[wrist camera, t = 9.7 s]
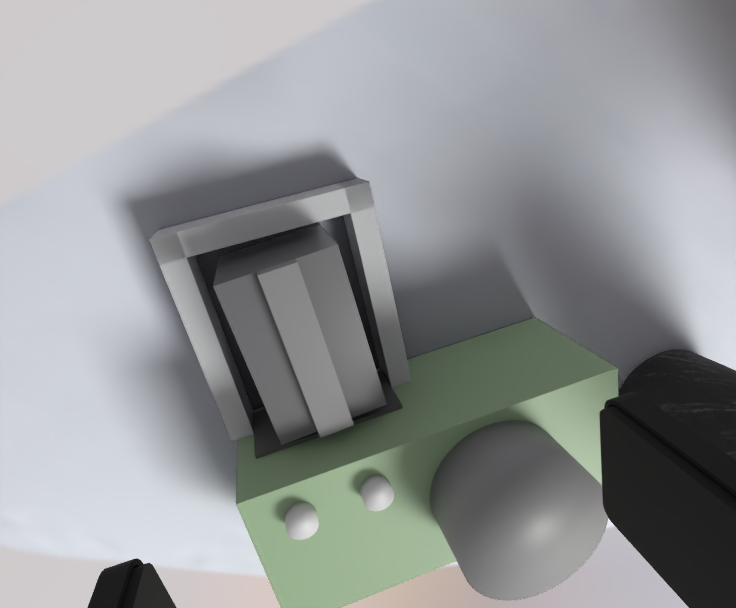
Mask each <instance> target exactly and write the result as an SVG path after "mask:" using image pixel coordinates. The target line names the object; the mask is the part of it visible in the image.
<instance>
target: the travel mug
mask: <svg viewBox="0 0 736 608" xmlns="http://www.w3.org/2000/svg"><path fill="white" fill-rule="evenodd" d="M630 392H636V393H638V394H640V395H642V396H643V397H645V398H646V399H647V400H649V401H650V402H652V403H653V404H655V405H656V406H658V407H659V408H661V409H662V410H664V411H665V412H666V413H668V414H669V415H671V416H672V417H674V418H675V419H677V420H678V421H680V422H681V423H683V424H684V425H685V426H687V427H688V428H690V429H691V430H693V431H694V432H696V433H697V434H699V435H700V436H702V437H703V438H704V439H706V440H707V441H709V442H710V443H712V444H713V445H715V446H716V447H718V448H719V449H721V450H722V451H723V452H725V453H726V454H728V455H729V456H731V457H732V458H734V459H735V460H736V371H735V370H733V369H731V368H728V367H726V366H724V365H721V364H719V363H717V362H714V361H712V360H710V359H707V358H705V357H703V356H700V355H698V354H695V353H692V352H689V351H685V350H671V351H666V352H663V353H660V354H658V355H656V356H654V357H652V358H650V359H648V360H647V361H645V362H644V363H643V364H641V365H640V366H639V367H638V368H637V369H636V370H635V371H634V372H633V373H632V374H631V375H630V376H629V377H628V379H627V380H626V381H625V383H624V384H623V386H622V387H621V389H620V391H619V393H618V394H619V396H621V395H624V394H627V393H630Z"/></svg>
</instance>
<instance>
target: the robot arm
mask: <svg viewBox="0 0 736 608" xmlns="http://www.w3.org/2000/svg"><path fill="white" fill-rule="evenodd" d="M599 418H600V444H601V471H602V497H603V507H604V510H605V512H606V514H607V516H608V518H609V519H610V521H611V522H612V523H613V524H614V525H615V526H616V527H617V528H618V530H619V531H620V532H621V533H622V534H623V535H624V536H625V537H626V539H627V540H628V541H629V542H630V543H631V544H632V545H633V546H634V547H635V548H636V549H637V551H638V552H639V553H640V554H641V555H642V556H643V557H644V558H645V560H646V561H647V562H648V563H649V564H650V565H651V566H652V567H653V568H654V569H655V571H656V572H657V573H658V574H659V575H660V576H661V577H662V578H663V579H664V581H665V582H666V583H667V584H668V585H669V586H670V587H671V588H672V589H673V590H674V592H676V593H677V595H678V596H679V597H680V598H681V599H682V600H683V602H684V603H685V604H686V605H687V606H688V607H689V608H736V460H735V459H734V458H732V457H731V456H729V455H728V454H726V453H725V452H723V451H722V450H721V449H719V448H718V447H716V446H715V445H713V444H712V443H710V442H709V441H707V440H706V439H704V438H703V437H702V436H700V435H699V434H697V433H696V432H694V431H693V430H691V429H690V428H688V427H687V426H685V425H684V424H683V423H681V422H680V421H678V420H677V419H675V418H674V417H672V416H671V415H669V414H668V413H666V412H665V411H664V410H662V409H661V408H659V407H658V406H656V405H655V404H653V403H652V402H650V401H649V400H647V399H646V398H645V397H643V396H642V395H640V394H638V393H636V392H630V393H627V394H624V395H621V396H618V397H615V398H612V399H609V400H607V401H606V402H605V405H604V409H602V410H601V411H600V415H599ZM88 608H176V606H175V604H174V603H173V601H172V599H171V597H170V595H169V594H168V592H167V590H166V588H165V587H164V585H163V583H162V581H161V579H160V578H159V576H158V574H157V572H156V570H155V568H154V567H153V565H152V564H150V563H147V564H143V563H142V561H141V560H139V559H133V560H130V561H127V562H124V563H121V564H118V565H115V566H112V567H109V568H106V569H104V570H103V571H102V572H101V574H100V576H99V578H98V581H97V583H96V586H95V589H94V592H93V595H92V597H91V600H90V603H89V605H88Z"/></svg>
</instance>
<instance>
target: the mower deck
mask: <svg viewBox="0 0 736 608" xmlns="http://www.w3.org/2000/svg"><path fill="white" fill-rule="evenodd" d="M342 215H343V217H344V221H345V225H346V229H347V233H348V237H349V242H350V246H351V250H352V254H353V258H354V262H355V266H356V271H357V275H358V279H359V283H360V287H361V291H362V295H363V300H364V304H365V308H366V312H367V316H368V320H369V324H370V329H371V333H372V337H373V341H374V345H375V349H376V353H377V358H378V362H379V366H380V368H379V369H376V370H377V374H378V377H379V380H380V383H381V387H382V390H383V393H384V396H385V400H386V403H387V404H386V405H384V406H381V407H379V408H376V409H374V410H371V411H368V412H366V413H363V414H361V415H358V416H356V417H353V418H352V421H353V423H354V425H353V426H350V427H348V428H345V429H343V430H340V431H338V432H335V433H333V434H330V435H327V436H325V437H322V438H320V436H319V433H318V431H317V432H315V433H312V434H309V435H307V436H304V437H302V438H299V439H297V440H294V441H291V442H289V443H286V444H284V445H281V443H280V440H279V438H278V436H277V434H276V431H275V429H274V427H273V424H272V422H271V420H270V417H269V415H268V413H267V410H266V408H265V406H264V407H261V408H258V409H254V410H253V409H252V406H251V403H250V401H249V398H248V395H247V393H246V390H245V387H244V385H243V382H242V379H241V377H240V374H239V372H238V369H237V366H236V364H235V361H234V358H233V356H232V353H231V350H230V348H229V345H228V342H227V340H226V337H225V334H224V332H223V329H222V326H221V324H220V321H219V318H218V316H217V313H216V310H215V308H214V305H213V302H212V300H211V297H210V294H209V292H208V289H207V286H206V284H205V281H204V278H203V276H202V273H201V270H200V268H199V265H198V262H197V260H196V257H195V255H199V254H202V253H206V252H210V251H213V250H217V249H221V248H224V247H228V246H232V245H236V244H239V243H243V242H247V241H250V240H254V239H258V238H261V237H265V236H269V235H272V234H276V233H280V232H283V231H287V230H291V229H294V228H298V227H302V226H305V225H309V224H313V223H316V222H320V221H324V220H327V219H331V218H335V217H338V216H342ZM149 241H150V243H151V246H152V248H153V251H154V253H155V256H156V258H157V261H158V263H159V265H160V268H161V270H162V273H163V275H164V278H165V280H166V283H167V285H168V287H169V290H170V292H171V295H172V297H173V300H174V302H175V305H176V307H177V309H178V312H179V314H180V317H181V319H182V322H183V324H184V327H185V329H186V331H187V334H188V336H189V339H190V341H191V344H192V346H193V348H194V351H195V353H196V356H197V358H198V361H199V363H200V366H201V368H202V370H203V373H204V375H205V378H206V380H207V383H208V385H209V388H210V390H211V392H212V395H213V397H214V400H215V402H216V405H217V407H218V410H219V412H220V414H221V417H222V419H223V422H224V424H225V427H226V429H227V432H228V434H229V436H230V439H231V441H234V440H237V482H236V505H237V507H238V510H239V512H240V514H241V517H242V519H243V521H244V524H245V526H246V528H247V531H248V533H249V535H250V538H251V540H252V542H253V544H254V547H255V549H256V551H257V554H258V556H259V558H260V561H261V563H262V565H263V568H264V570H265V572H266V575H267V577H268V579H269V582H270V584H271V586H272V588H273V591H274V593H275V595H276V598H277V600H278V602H279V605H280V607H281V608H341V607H343V606H346V605H348V604H351V603H354V602H356V601H358V600H361V599H363V598H366V597H368V596H371V595H373V594H376V593H378V592H381V591H383V590H386V589H388V588H391V587H393V586H396V585H398V584H400V583H403V582H405V581H408V580H410V579H413V578H415V577H418V576H420V575H423V574H425V573H428V572H430V571H433V570H435V569H437V568H440V567H442V566H445V565H447V564H450V563H452V562H455V561H457V562H458V564H459V566H460V568H461V570H462V572H463V574H464V576H465V578H466V580H467V582H468V583H469V584H470V585H471V587H472V588H473V589H475V590H476V591H477V592H478V593H480V594H482V595H484V596H486V597H489V598H493V599H498V600H519V599H525V598H528V597H532V596H536V595H538V594H540V593H543V592H546V591H548V590H550V589H552V588H554V587H555V586H557V585H559V584H560V583H562V582H563V581H565V580H566V579H568V578H569V577H570V576H571V575H572V574H574V573H575V572H576V571H577V570H578V569H579V568H580V567H581V566H582V565H583V564H584V563H585V562H586V561H587V560H588V559H589V557H590V556H591V555H592V553H593V552H594V551H595V549H596V548H597V546H598V544H599V542H600V541H601V539H602V536H603V534H604V532H605V529H606V525H607V521H608V516H607V514H606V512H605V510H604V507H603V497H602V471H601V444H600V418H599V415H600V411H601V410H602V409H604V405H605V402H606V401H607V400H609V399H612V398H615V397H618V396H619V394H618V367H616V366H614V365H613V364H611V363H609V362H608V361H606V360H605V359H603V358H601V357H600V356H598V355H596V354H595V353H593V352H591V351H590V350H588V349H587V348H585V347H583V346H582V345H580V344H578V343H577V342H575V341H573V340H572V339H570V338H568V337H567V336H565V335H564V334H562V333H560V332H559V331H557V330H555V329H554V328H552V327H550V326H549V325H547V324H546V323H544V322H542V321H541V320H539V319H537V318H536V317H534V318H531V319H528V320H525V321H522V322H519V323H516V324H513V325H510V326H507V327H504V328H501V329H498V330H495V331H492V332H489V333H486V334H483V335H480V336H477V337H474V338H471V339H467V340H464V341H461V342H458V343H455V344H452V345H449V346H446V347H443V348H440V349H437V350H434V351H431V352H428V353H425V354H422V355H419V356H416V357H413V358H410V359H407V356H406V352H405V347H404V342H403V338H402V333H401V328H400V323H399V319H398V314H397V309H396V305H395V300H394V295H393V291H392V286H391V281H390V277H389V272H388V267H387V263H386V258H385V253H384V249H383V244H382V239H381V235H380V230H379V225H378V221H377V216H376V211H375V207H374V202H373V197H372V193H371V188H370V183H369V181H366V180H363V179H360V178H355V179H351V180H347V181H343V182H339V183H336V184H332V185H328V186H324V187H320V188H316V189H313V190H309V191H305V192H301V193H297V194H293V195H290V196H286V197H282V198H278V199H274V200H271V201H267V202H263V203H259V204H255V205H251V206H248V207H244V208H240V209H236V210H232V211H228V212H225V213H221V214H217V215H213V216H209V217H205V218H202V219H198V220H194V221H190V222H186V223H182V224H179V225H175V226H171V227H167V228H163V229H159V230H157V231H156V233H155V234H154V235H153V236H152V237H151V238H150V239H149Z"/></svg>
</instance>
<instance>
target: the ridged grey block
mask: <svg viewBox="0 0 736 608" xmlns="http://www.w3.org/2000/svg"><path fill="white" fill-rule="evenodd" d="M213 288H214V290H215V292H216V295H217V297H218V299H219V302H220V304H221V306H222V309H223V311H224V313H225V315H226V318H227V320H228V322H229V325H230V327H231V329H232V332H233V334H234V336H235V339H236V341H237V343H238V346H239V348H240V350H241V352H242V355H243V357H244V359H245V362H246V364H247V366H248V369H249V371H250V373H251V376H252V378H253V380H254V383H255V385H256V387H257V390H258V392H259V394H260V396H261V399H262V401H263V403H264V406H265V408H266V410H267V413H268V415H269V417H270V420H271V422H272V424H273V427H274V429H275V431H276V434H277V436H278V438H279V440H280V443H281V445H284V444H286V443H289V442H291V441H294V440H297V439H299V438H302V437H304V436H307V435H309V434H312V433H315V432H317V431H318V433H319V436H320V438H322V437H325V436H327V435H330V434H333V433H335V432H338V431H340V430H343V429H345V428H348V427H350V426H353V425H354V423H353V421H352V418H353V417H356V416H358V415H361V414H363V413H366V412H368V411H371V410H374V409H376V408H379V407H381V406H384V405H386V404H387V403H386V400H385V396H384V393H383V390H382V387H381V383H380V380H379V377H378V374H377V370H376V367H375V364H374V361H373V357H372V354H371V351H370V348H369V344H368V341H367V338H366V335H365V331H364V328H363V325H362V322H361V318H360V315H359V312H358V308H357V305H356V302H355V299H354V295H353V292H352V289H351V286H350V282H349V279H348V276H347V273H346V269H345V266H344V263H343V260H342V256H341V253H340V250H339V247H338V244H337V243H336V242H335V241H334V240H333V239H332V237H331V236H330V235H329V234H328V233H327V232H326V231H325V230H324V228H323V227H322V226H321V225H320V224H317V225H314V226H311V227H308V228H305V229H302V230H299V231H296V232H293V233H290V234H287V235H284V236H280V237H277V238H274V239H271V240H268V241H265V242H262V243H259V244H256V245H253V246H250V247H247V248H244V249H241V250H238V251H235V252H232V253H229V254H226V255H223V256H220V257H219V259H218V264H217V269H216V274H215V279H214V284H213Z"/></svg>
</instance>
